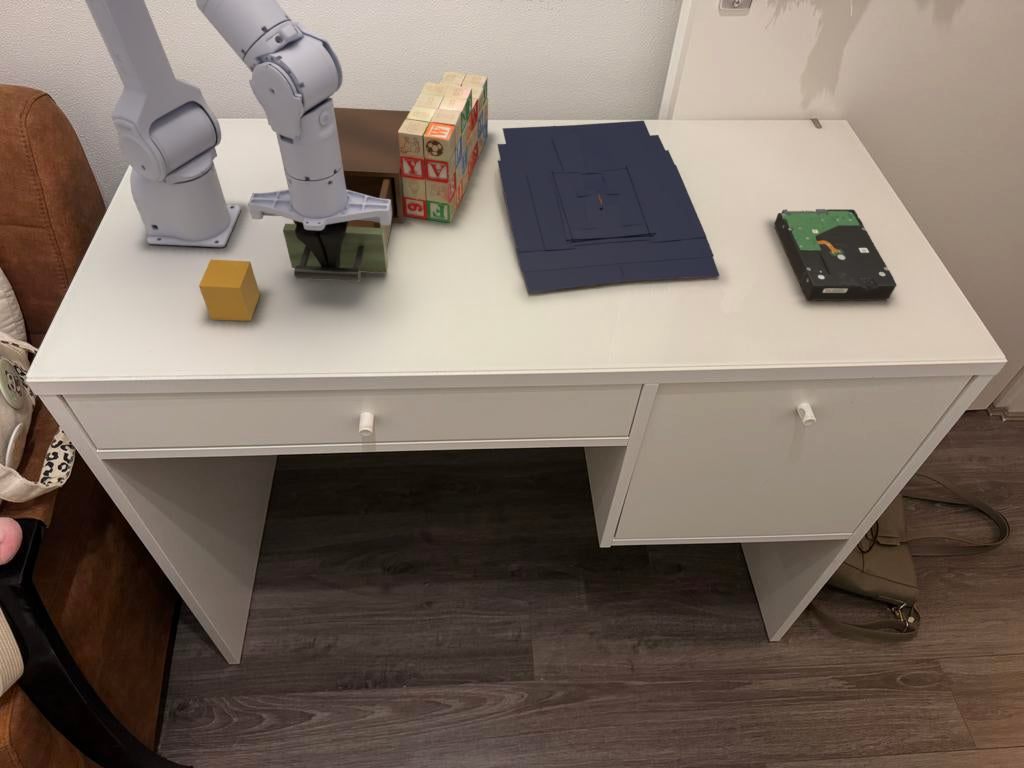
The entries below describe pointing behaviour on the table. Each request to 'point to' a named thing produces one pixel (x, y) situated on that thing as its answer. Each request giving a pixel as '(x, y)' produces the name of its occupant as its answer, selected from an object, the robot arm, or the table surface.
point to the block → (230, 290)
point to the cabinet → (372, 146)
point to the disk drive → (834, 255)
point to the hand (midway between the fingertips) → (332, 269)
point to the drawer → (349, 239)
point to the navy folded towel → (599, 207)
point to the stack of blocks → (442, 144)
